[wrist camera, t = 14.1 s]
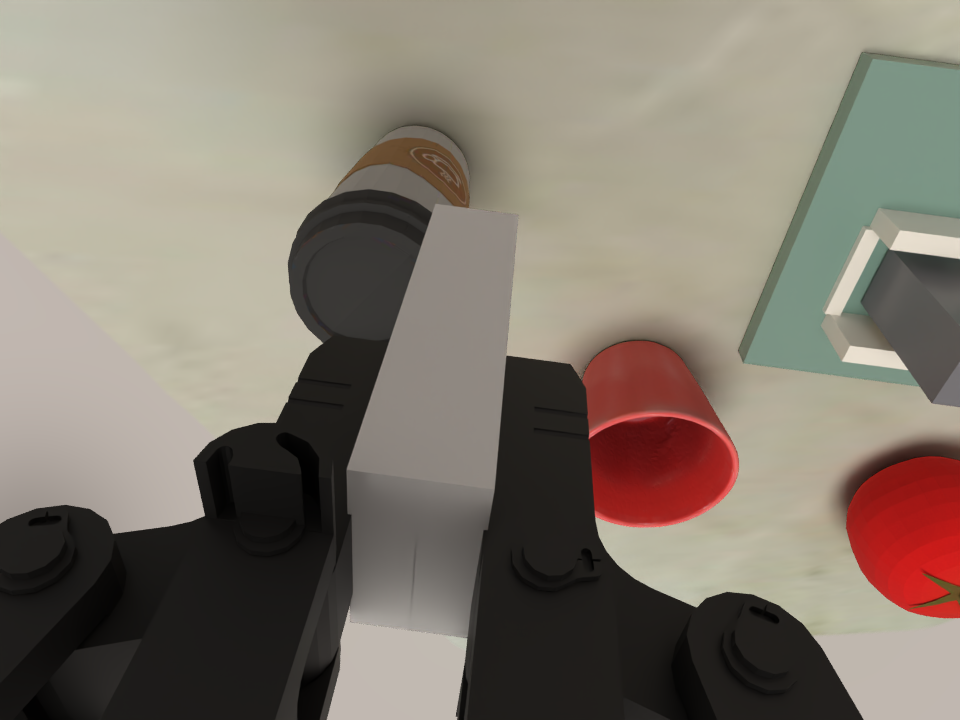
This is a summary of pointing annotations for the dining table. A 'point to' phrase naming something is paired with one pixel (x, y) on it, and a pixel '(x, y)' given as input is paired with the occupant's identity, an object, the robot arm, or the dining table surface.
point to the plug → (921, 318)
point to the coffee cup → (373, 234)
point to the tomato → (911, 534)
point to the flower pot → (653, 438)
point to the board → (864, 220)
